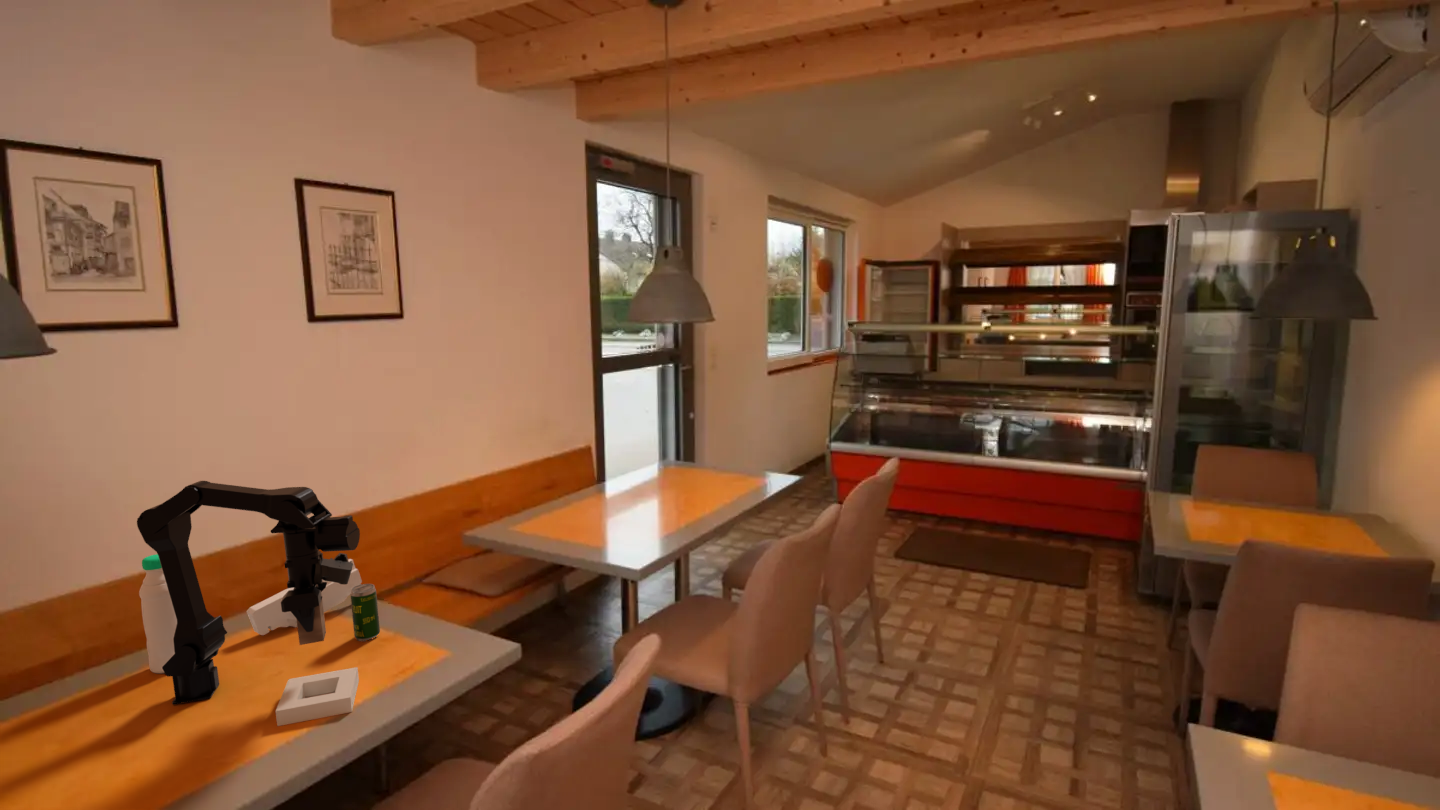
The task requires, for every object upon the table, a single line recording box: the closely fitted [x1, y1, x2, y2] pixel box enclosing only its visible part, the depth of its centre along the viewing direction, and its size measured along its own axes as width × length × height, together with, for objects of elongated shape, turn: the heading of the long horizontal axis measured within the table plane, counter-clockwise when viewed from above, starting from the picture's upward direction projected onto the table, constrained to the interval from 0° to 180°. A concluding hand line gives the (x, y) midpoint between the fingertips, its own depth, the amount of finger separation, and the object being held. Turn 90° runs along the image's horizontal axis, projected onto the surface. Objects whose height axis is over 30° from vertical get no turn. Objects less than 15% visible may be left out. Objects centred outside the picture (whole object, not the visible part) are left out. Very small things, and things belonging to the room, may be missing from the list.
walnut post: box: [296, 591, 327, 646], centre depth 148 cm, size 4×4×9 cm
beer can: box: [349, 583, 381, 642], centre depth 172 cm, size 5×5×12 cm
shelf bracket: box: [246, 558, 363, 636], centre depth 183 cm, size 6×25×13 cm, turn 143°
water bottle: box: [138, 554, 177, 674], centre depth 158 cm, size 7×7×25 cm
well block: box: [275, 666, 360, 727], centre depth 144 cm, size 12×12×3 cm
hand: (311, 626), depth 148 cm, fingers closed on walnut post, 4 cm apart
